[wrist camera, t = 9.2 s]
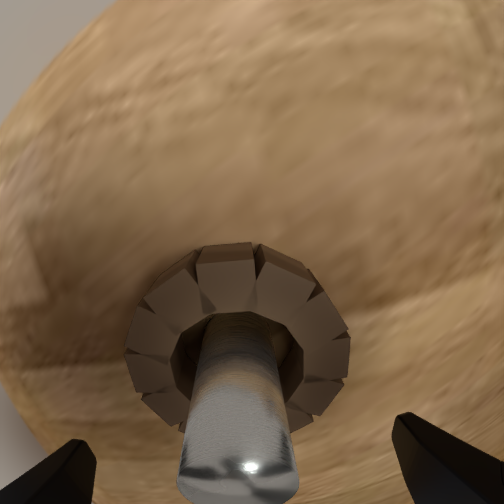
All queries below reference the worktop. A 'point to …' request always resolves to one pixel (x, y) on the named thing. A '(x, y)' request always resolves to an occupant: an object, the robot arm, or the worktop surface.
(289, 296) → the walnut gear
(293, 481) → the grey cylinder
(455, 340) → the worktop surface
